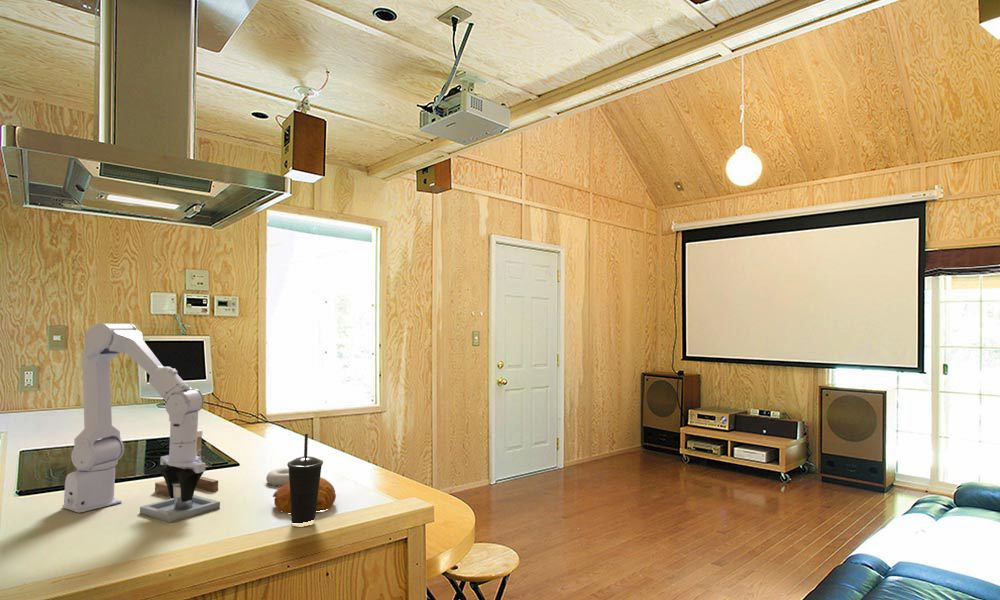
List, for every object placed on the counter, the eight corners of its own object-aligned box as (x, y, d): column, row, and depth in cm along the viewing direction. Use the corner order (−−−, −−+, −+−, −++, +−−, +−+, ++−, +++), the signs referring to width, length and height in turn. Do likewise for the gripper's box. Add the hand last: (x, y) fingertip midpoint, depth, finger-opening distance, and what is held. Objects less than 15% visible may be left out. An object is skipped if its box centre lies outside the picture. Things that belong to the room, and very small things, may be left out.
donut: (274, 490, 154) (310, 483, 161) (275, 477, 154) (310, 470, 161) (260, 482, 161) (294, 476, 168) (260, 470, 162) (295, 464, 168)
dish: (170, 522, 127) (171, 516, 127) (139, 513, 133) (140, 506, 133) (219, 508, 138) (220, 501, 138) (189, 499, 144) (189, 493, 144)
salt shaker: (180, 511, 133) (179, 486, 133) (168, 508, 135) (167, 483, 135) (198, 504, 137) (197, 479, 137) (186, 501, 139) (185, 477, 139)
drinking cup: (300, 532, 123) (303, 438, 124) (277, 525, 127) (281, 434, 128) (328, 522, 130) (331, 433, 131) (305, 515, 134) (308, 429, 135)
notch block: (181, 499, 144) (182, 489, 144) (154, 492, 149) (155, 482, 149) (218, 490, 152) (218, 480, 152) (191, 483, 158) (191, 474, 158)
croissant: (329, 503, 150) (330, 471, 152) (339, 513, 137) (340, 478, 138) (270, 508, 145) (272, 475, 146) (274, 518, 131) (276, 482, 132)
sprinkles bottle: (197, 479, 162) (199, 431, 163) (179, 479, 162) (181, 431, 162) (203, 474, 167) (205, 428, 167) (186, 475, 166) (188, 428, 167)
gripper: (218, 441, 136) (215, 499, 136) (181, 435, 143) (178, 490, 143) (190, 447, 130) (187, 507, 130) (152, 439, 137) (150, 497, 137)
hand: (180, 499), depth 136 cm, fingers closed on salt shaker, 4 cm apart
